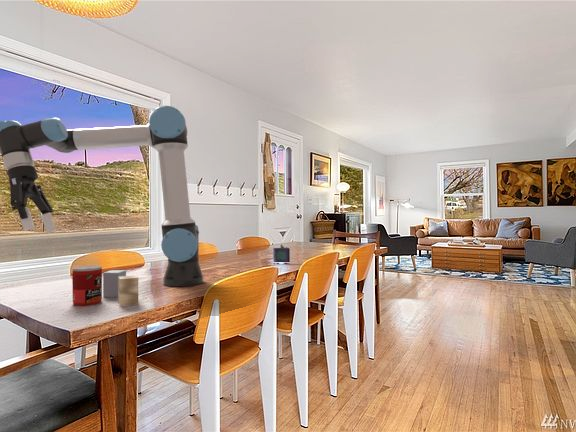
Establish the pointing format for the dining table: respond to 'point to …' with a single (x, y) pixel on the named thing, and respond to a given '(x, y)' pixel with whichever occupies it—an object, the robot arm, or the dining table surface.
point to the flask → (281, 254)
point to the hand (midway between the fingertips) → (41, 230)
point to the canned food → (87, 285)
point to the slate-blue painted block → (111, 282)
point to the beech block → (127, 290)
